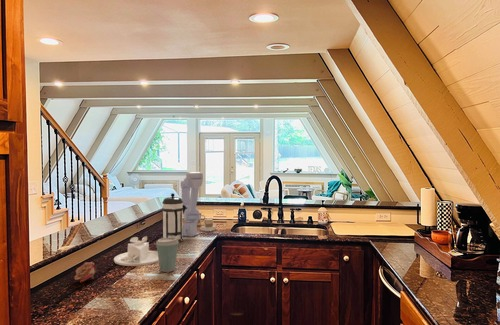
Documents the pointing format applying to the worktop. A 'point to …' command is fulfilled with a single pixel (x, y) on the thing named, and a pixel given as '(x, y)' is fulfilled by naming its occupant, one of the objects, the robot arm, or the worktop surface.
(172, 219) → the coffee press
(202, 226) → the ceramic plinth
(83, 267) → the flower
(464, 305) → the worktop surface
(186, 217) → the robot arm
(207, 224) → the brass cube
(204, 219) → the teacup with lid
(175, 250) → the disposable coffee cup
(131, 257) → the dish
